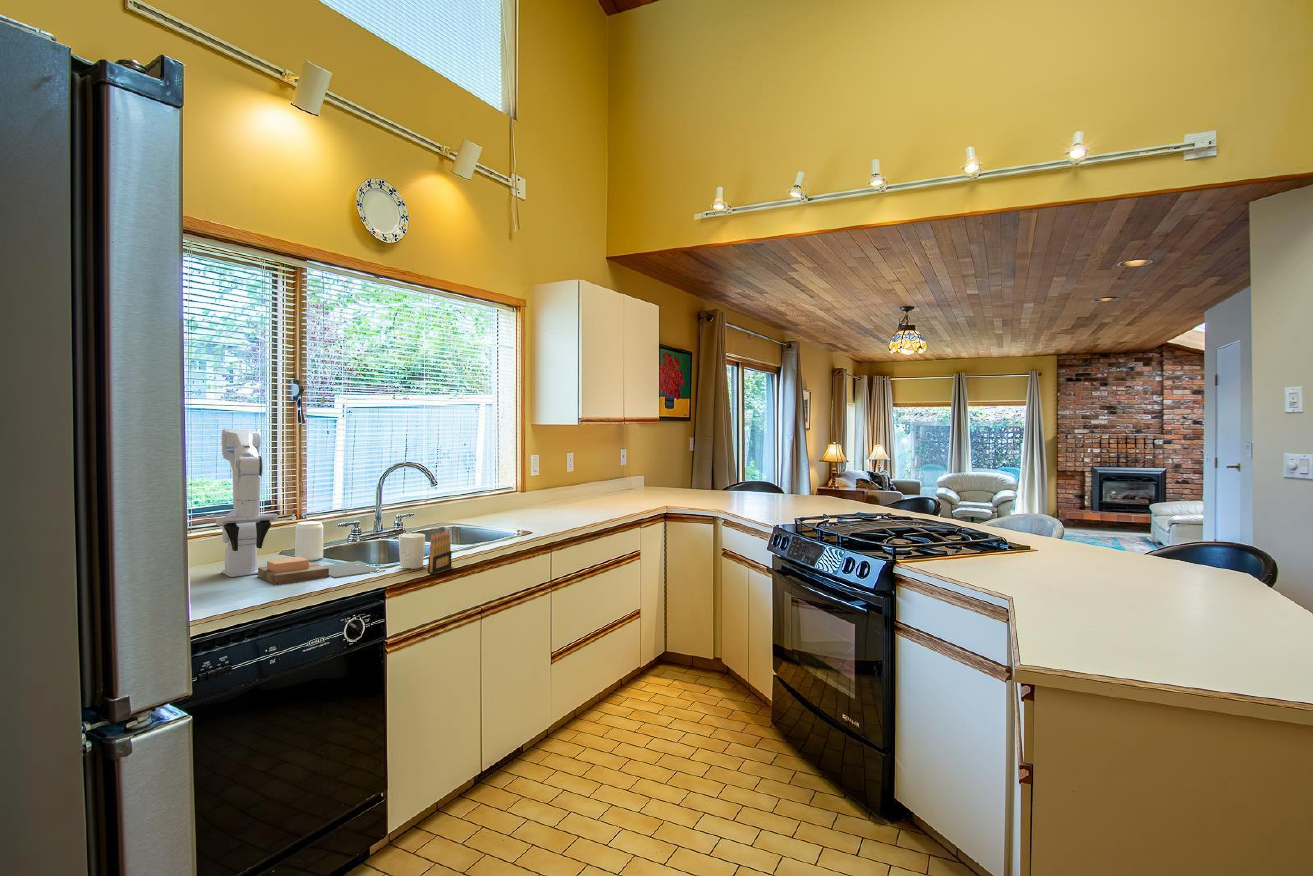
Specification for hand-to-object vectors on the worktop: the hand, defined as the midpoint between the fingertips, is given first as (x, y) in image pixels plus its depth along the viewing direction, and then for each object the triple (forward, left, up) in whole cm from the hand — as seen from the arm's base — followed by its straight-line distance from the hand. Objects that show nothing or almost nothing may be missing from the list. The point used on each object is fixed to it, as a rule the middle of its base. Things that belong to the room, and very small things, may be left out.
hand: (247, 549), depth 181 cm
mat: (+1, +27, -9) cm, 29 cm away
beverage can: (-23, +25, -10) cm, 35 cm away
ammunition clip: (+20, +47, -10) cm, 52 cm away
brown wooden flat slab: (0, +12, -9) cm, 15 cm away
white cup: (+10, +43, -10) cm, 45 cm away
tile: (0, +11, -6) cm, 12 cm away
